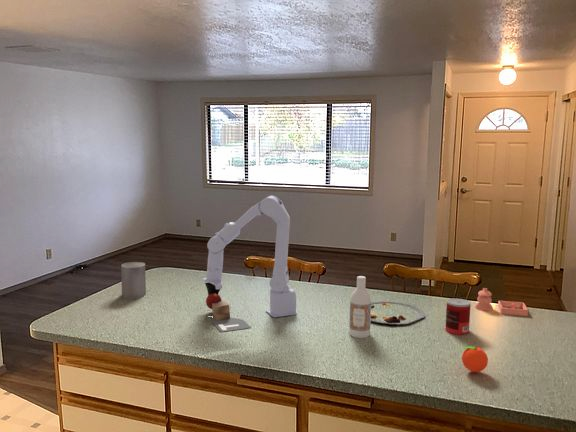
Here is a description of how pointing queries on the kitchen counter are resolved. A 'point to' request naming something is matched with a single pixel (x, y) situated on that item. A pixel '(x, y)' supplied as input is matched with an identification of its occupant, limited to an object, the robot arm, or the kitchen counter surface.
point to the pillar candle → (133, 280)
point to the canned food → (457, 316)
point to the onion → (212, 299)
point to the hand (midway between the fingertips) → (212, 302)
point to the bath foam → (360, 310)
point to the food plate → (394, 319)
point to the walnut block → (221, 310)
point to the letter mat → (229, 324)
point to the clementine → (474, 359)
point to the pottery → (499, 304)
